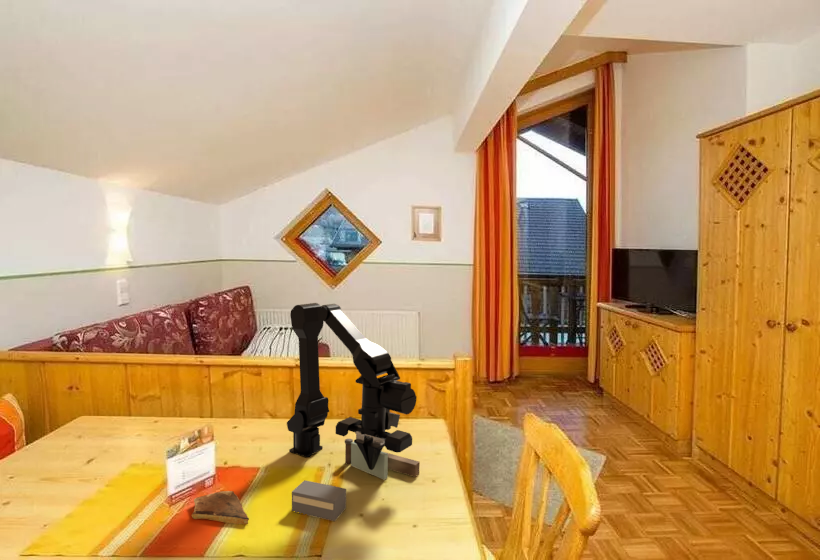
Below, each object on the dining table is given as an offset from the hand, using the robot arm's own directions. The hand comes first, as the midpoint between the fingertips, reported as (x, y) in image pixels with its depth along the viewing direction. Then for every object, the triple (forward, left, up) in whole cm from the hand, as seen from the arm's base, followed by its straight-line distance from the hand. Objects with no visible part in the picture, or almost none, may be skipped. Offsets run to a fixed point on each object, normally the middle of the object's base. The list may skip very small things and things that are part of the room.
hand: (371, 469), depth 111 cm
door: (-3, +4, -3) cm, 5 cm away
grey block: (-3, -16, -3) cm, 16 cm away
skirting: (-1, +8, -3) cm, 8 cm away
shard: (-19, -25, -3) cm, 32 cm away
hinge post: (-10, +4, -3) cm, 11 cm away
